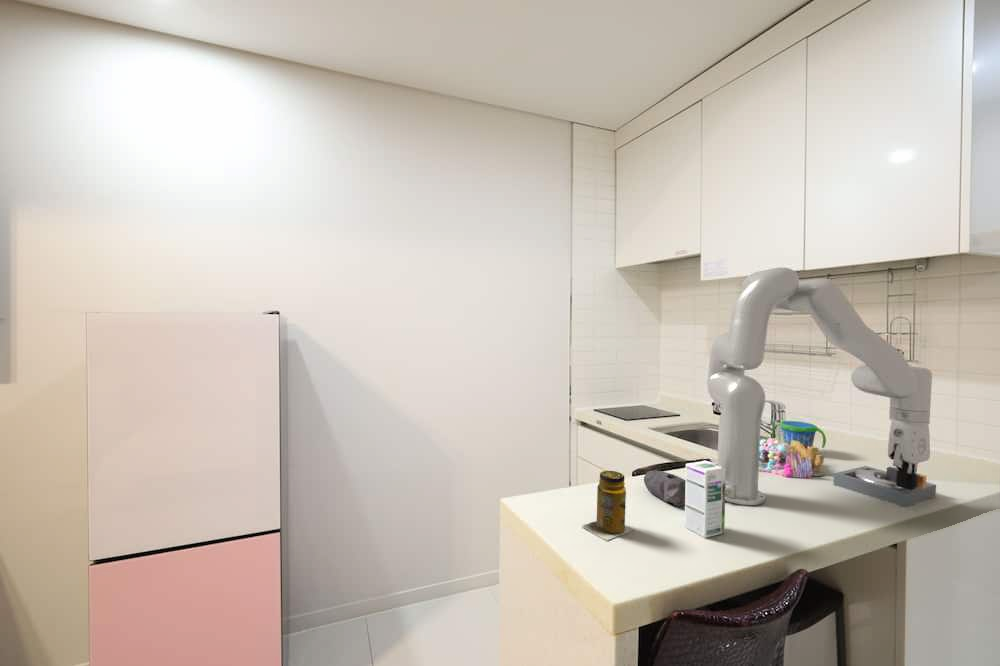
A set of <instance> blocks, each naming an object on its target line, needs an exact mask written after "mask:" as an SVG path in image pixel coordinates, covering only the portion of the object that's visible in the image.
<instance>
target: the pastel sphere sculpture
mask: <svg viewBox="0 0 1000 666" xmlns="http://www.w3.org/2000/svg"><path fill="white" fill-rule="evenodd" d="M790 448H791V449H790ZM818 452H819V448H818V447H817V446H814V445H813V446H812V447H809V446H808V447H807V449H806V448H805V446H804V445H802V444H801V443H800V442H799V441H794V440H792V441H791V443H790V447H789V445H788V444H787V443H784V441H781V440H779V439H778V438H776V437H775V438H772V437H770V438H767V439H766V438H765V439H763V438H762V439H760V451H759V473H761V472H762V473H769V474H770V473H771V474H773V475H777V476H781V477H786V478H792V477H793V478H797V479H802V478H804V479H805V480H806V479H807V478H810V479H812V477H818V476H822V475H823V474H824V472H823V471H821V470H820V468H821V467H822V465H823V463H824V462H825V461H824V459H825V455H824V454H818Z"/></svg>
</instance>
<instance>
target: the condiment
mask: <svg viewBox="0 0 1000 666" xmlns="http://www.w3.org/2000/svg"><path fill="white" fill-rule="evenodd" d="M598 482H599V483H598V484H597V495H596V496H597V497H596V520H595V521H591V522H589V523H586V524H583V525H581V527H582V528H584V529H586V530H587V531H588V532H590V533H592V534H593V535H595V536H597V537H599V538H601V539H602V540H605V541H607V542H608V541H609V540H613V539H614V538H617V537H619V536H623V535H625V534H628V533H630V532H633V530H634V529H633V528H630V527H628V526H626V504H627V503H626V499H627V498H626V497H627V490H626V489H627V488H626V486H625V484H626V483H625V475H624V474H623V473H622V472H618V471H615V470H604V471H601V472H600V473H599V479H598Z"/></svg>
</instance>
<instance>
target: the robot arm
mask: <svg viewBox="0 0 1000 666" xmlns="http://www.w3.org/2000/svg"><path fill="white" fill-rule="evenodd" d="M775 308H778V309H782V310H785V311H786V310H787V311H792V312H799V313H800V312H801V313H808V314H809V315H810V317H811V318H812V319H813V321H814V323H815V324H816V325H817V326H818V328H819V330H820V331H821V332H822V334H823V335H824V337H825V338H826V340H827V342H829V343H830V344H831V345H833V346H835V347H836V348H838V349H840V350H842V351H844V352H845V353H848V354H850V355H852V356H853V357H855V358H856V359H858V360H860V361H861V362H862V363H863V365H860V366H858V367H856V368H855V369H854V370H853V372H852V373H851V377H850V379H851V383H852V385H853V386H854V387H855V388H857V390H859V391H861V392H862V393H863V392H864V393H867V394H871V395H874V396H880V397H885V398H889V419H888V420H890V421H891V423H890V429H889V435H888V444H887V445H888V447H887V456H888V458H889V459H890V460H892V467H895V468H896V470H897V480H896V485H897V486H898V487H902V488H905V489H909V490H912V489H915V482H916V474H915V473H917V472H918V464H919V463H923V462H927V461H928V460H929V459H930V455H931V450H930V449H931V439H930V438H931V437H930V426H929V425H930V423H931V401H932V388H933V387H932V386H933V385H932V384H933V374H932V371H931V370H930V369H928V368H925V367H919V366H910V364H909V363H908V361H907V360H906V358H905V357H904V356H903V354H902V353H901V352H900V351H899V349H897V348H896V347H895V346H894V345H892V344H891V343H890V342H889V341H887V340H886V339H885V338H883V337H882V336H881V335H879V334H878V333H877V332H876V331H874V330H873V329H871V328H870V327H869V326H867V325H866V324H865V322H864V321H863V319H862V317H860V314H859V313H858V312H857V311H856V310H855V308H854V306H853V305H852V303H851V302H850V301H849V299H848V297H847V296H846V294H845V293H844V292H843V291H842V289H841V287H840V285H838V284H837V283H836V282H835V281H833V280H832V279H828V278H813V279H806V280H805V279H804V280H801V279H800V278H799V275H798V274H797V272H796V271H794V269H792V268H789V267H782V266H781V267H780V266H779V267H774V268H769V269H764V270H760V271H757V272H752V273H751V274H749V275H748V276H747V277H746V278H745V280H743V284H742V292H740V294H739V295H738V296H737V298H736V300H735V302H734V305H733V308H732V311H731V316H730V322H729V329H728V332H726V333H725V332H724V333H722V334H720V335H718V337H717V338H716V339H715V340H714V342H713V344H712V346H711V350H710V355H709V356H710V357H709V363H708V364H709V365H708V373H707V374H708V375H707V391H708V394H709V396H710V398H711V399H712V400H713V401H714V402H716V403H717V404H719V405H721V406H722V408H721V409H722V410H721V413H720V415H719V421H718V436H717V437H718V440H717V463H716V464H718V465H720V466H722V467H724V468H725V469H726V473H725V502H727V503H732V504H736V505H743V506H757V505H762V504H763V503H765V501H766V500H765V499H766V497H765V495H764V494H765V493H763V492H762V491H761V490H759V473H760V472H759V451H760V441H761V424H762V418H763V417H762V416H763V413H764V408H765V406H766V405H765V403H766V393H765V389H764V387H763V386H762V385H761V384H760V382H759V381H757V380H756V379H755V378H753V377H751V376H749V375H745V372H746V371H751V370H756V369H757V368H759V367H760V366H761V365H762V363H763V361H764V358H765V351H766V343H767V334H768V333H767V332H768V325H769V320H770V316H771V314H772V313H773V310H774V309H775Z"/></svg>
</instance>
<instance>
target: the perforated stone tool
mask: <svg viewBox="0 0 1000 666" xmlns="http://www.w3.org/2000/svg"><path fill="white" fill-rule="evenodd" d="M643 482H644V485H645V488H646V489H647V491H648V492H649V493H651V494H652V495H655V496H656V497H657V498H658V499H660V500H662V501H663V502H665V503H672V504H673V505H674V506H676V507H682V506H683V507H685V483H686V479H684V478H682V477H681V476H679V475H676V474H673V473H669V472H667V471H666V472H665V471H663V470H662V471H660V470H649V471H646V473H645V475H644V477H643Z"/></svg>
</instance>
